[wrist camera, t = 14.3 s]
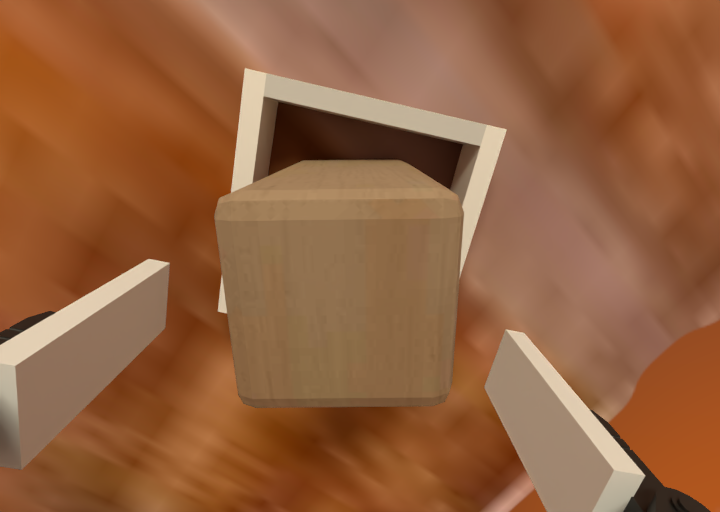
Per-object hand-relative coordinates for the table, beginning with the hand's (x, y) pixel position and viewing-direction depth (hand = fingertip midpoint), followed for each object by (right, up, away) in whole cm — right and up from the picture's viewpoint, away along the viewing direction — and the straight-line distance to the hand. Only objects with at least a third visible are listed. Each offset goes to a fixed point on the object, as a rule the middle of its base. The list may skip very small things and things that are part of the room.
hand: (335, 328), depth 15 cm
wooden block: (0, +7, +20) cm, 21 cm away
